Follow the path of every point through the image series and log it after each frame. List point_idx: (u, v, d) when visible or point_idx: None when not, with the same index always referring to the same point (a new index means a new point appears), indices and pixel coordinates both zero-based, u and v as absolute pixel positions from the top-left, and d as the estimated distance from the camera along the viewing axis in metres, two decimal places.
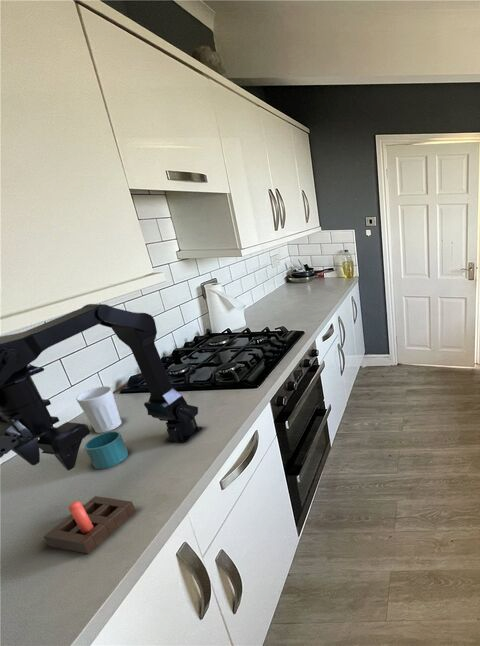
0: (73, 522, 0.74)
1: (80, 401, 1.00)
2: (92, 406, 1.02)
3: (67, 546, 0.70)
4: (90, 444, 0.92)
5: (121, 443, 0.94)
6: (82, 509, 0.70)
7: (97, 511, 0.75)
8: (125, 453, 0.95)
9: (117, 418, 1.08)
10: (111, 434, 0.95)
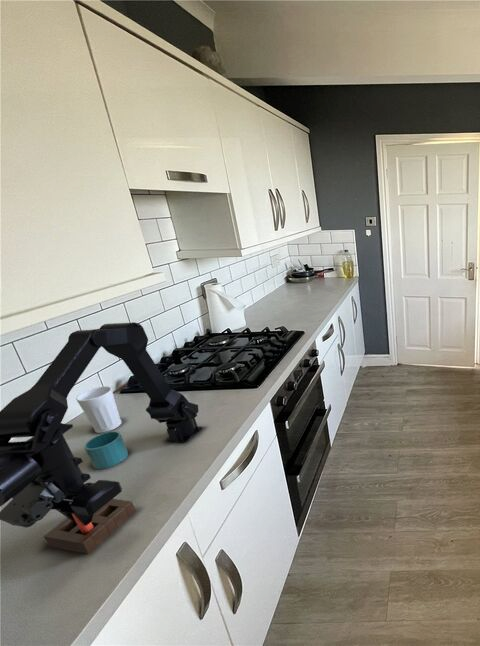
0: (73, 522, 0.74)
1: (80, 401, 1.00)
2: (92, 406, 1.02)
3: (67, 546, 0.70)
4: (90, 444, 0.92)
5: (121, 443, 0.94)
6: None
7: (97, 511, 0.75)
8: (125, 453, 0.95)
9: (117, 418, 1.08)
10: (111, 434, 0.95)
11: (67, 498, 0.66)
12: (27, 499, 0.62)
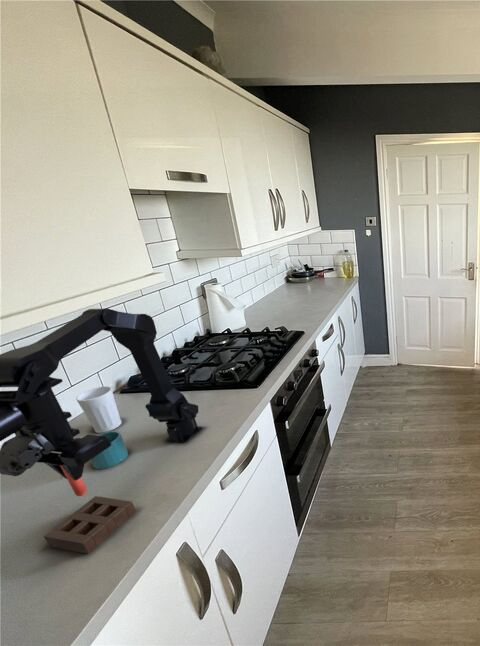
0: (73, 522, 0.74)
1: (80, 401, 1.00)
2: (92, 406, 1.02)
3: (67, 546, 0.70)
4: None
5: (121, 443, 0.94)
6: None
7: (97, 511, 0.75)
8: (125, 453, 0.95)
9: (117, 418, 1.08)
10: (111, 434, 0.95)
11: (56, 451, 0.66)
12: (16, 449, 0.62)
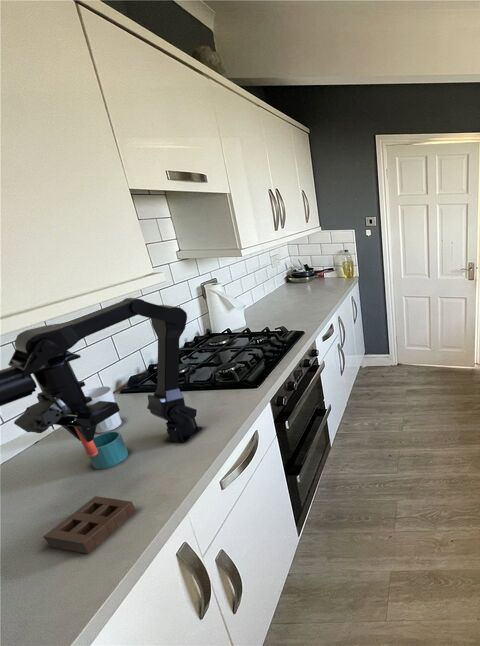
0: (73, 522, 0.74)
1: None
2: None
3: (67, 546, 0.70)
4: None
5: (121, 443, 0.94)
6: None
7: (97, 511, 0.75)
8: (125, 453, 0.95)
9: (117, 418, 1.08)
10: (111, 434, 0.95)
11: (72, 414, 0.77)
12: (39, 410, 0.73)
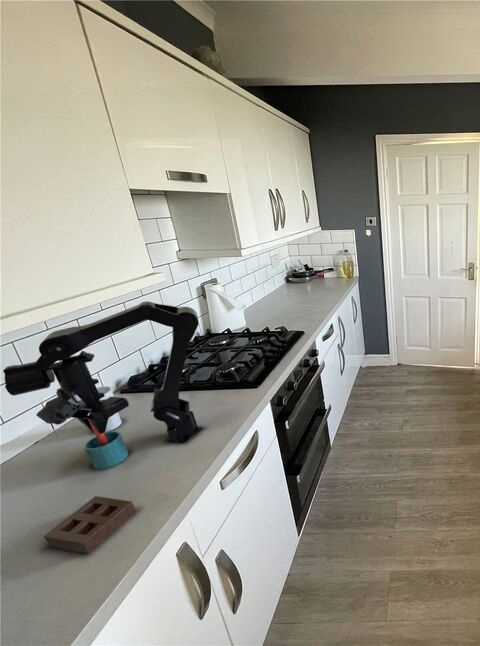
0: (73, 522, 0.74)
1: None
2: None
3: (67, 546, 0.70)
4: (90, 444, 0.92)
5: (121, 443, 0.94)
6: None
7: (97, 511, 0.75)
8: (125, 453, 0.95)
9: (117, 418, 1.08)
10: (111, 434, 0.95)
11: (87, 408, 0.86)
12: (58, 404, 0.82)
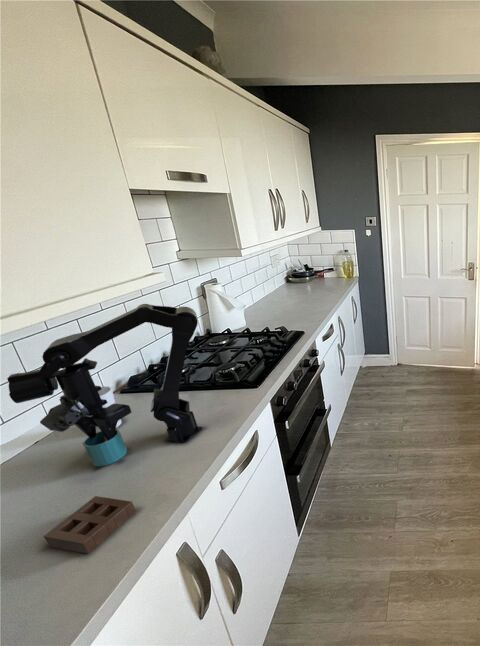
0: (73, 522, 0.74)
1: None
2: None
3: (67, 546, 0.70)
4: (89, 441, 0.92)
5: (120, 440, 0.93)
6: None
7: (97, 511, 0.75)
8: (124, 450, 0.95)
9: None
10: None
11: None
12: (61, 411, 0.83)
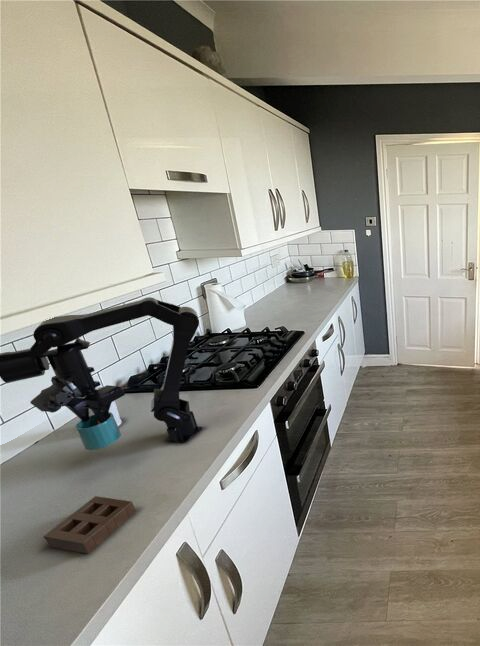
0: (73, 522, 0.74)
1: None
2: None
3: (67, 546, 0.70)
4: (81, 424, 0.90)
5: (113, 424, 0.91)
6: None
7: (97, 511, 0.75)
8: (117, 434, 0.92)
9: (117, 418, 1.08)
10: None
11: None
12: (53, 392, 0.80)
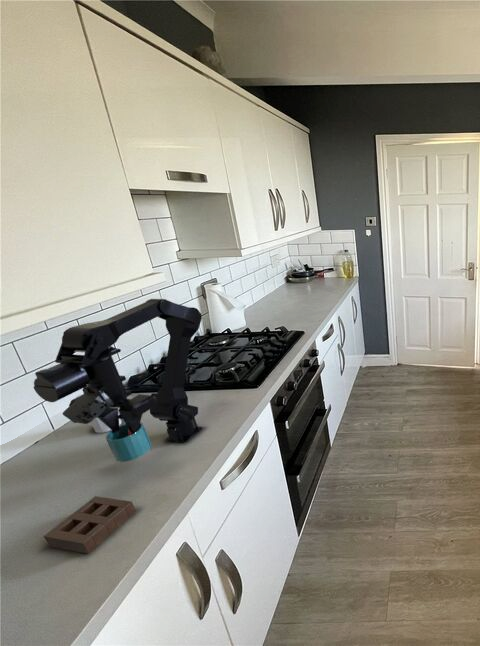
0: (73, 522, 0.74)
1: None
2: None
3: (67, 546, 0.70)
4: (111, 435, 0.86)
5: (144, 434, 0.88)
6: None
7: (97, 511, 0.75)
8: (148, 445, 0.89)
9: None
10: None
11: None
12: (85, 402, 0.77)
